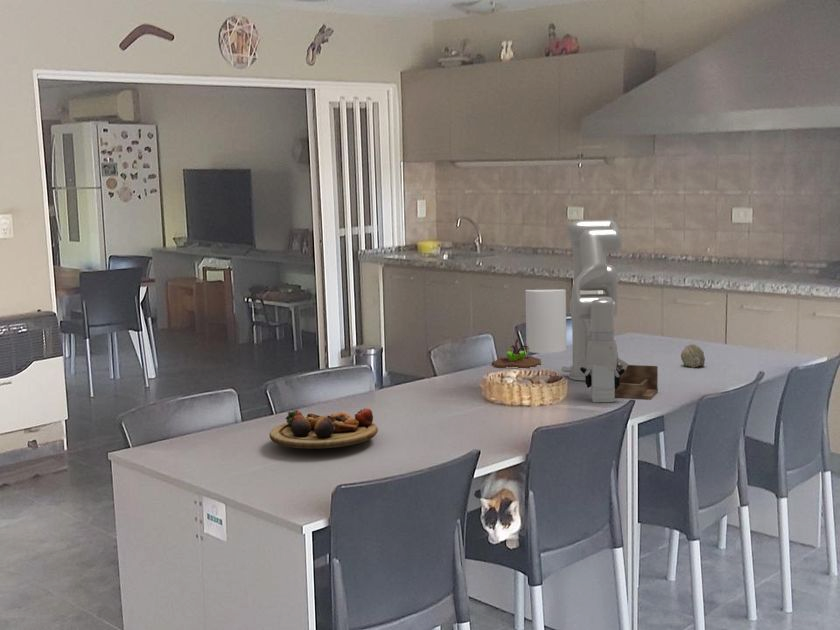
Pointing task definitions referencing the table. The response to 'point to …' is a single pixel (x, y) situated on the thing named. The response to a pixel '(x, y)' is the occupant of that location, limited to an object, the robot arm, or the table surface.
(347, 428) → the wooden plate with food
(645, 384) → the walnut caddy
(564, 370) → the robot arm
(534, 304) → the cylinder
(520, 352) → the plant
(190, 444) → the table surface
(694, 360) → the round rough stone
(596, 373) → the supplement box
